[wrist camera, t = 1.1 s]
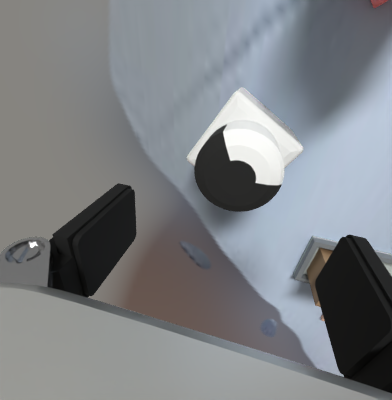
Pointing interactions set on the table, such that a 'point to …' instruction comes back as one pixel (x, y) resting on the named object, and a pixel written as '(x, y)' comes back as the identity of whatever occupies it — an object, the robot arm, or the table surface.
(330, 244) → the cubby strip
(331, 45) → the table surface
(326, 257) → the brown labeled box
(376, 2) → the ink cartridge box
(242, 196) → the container
